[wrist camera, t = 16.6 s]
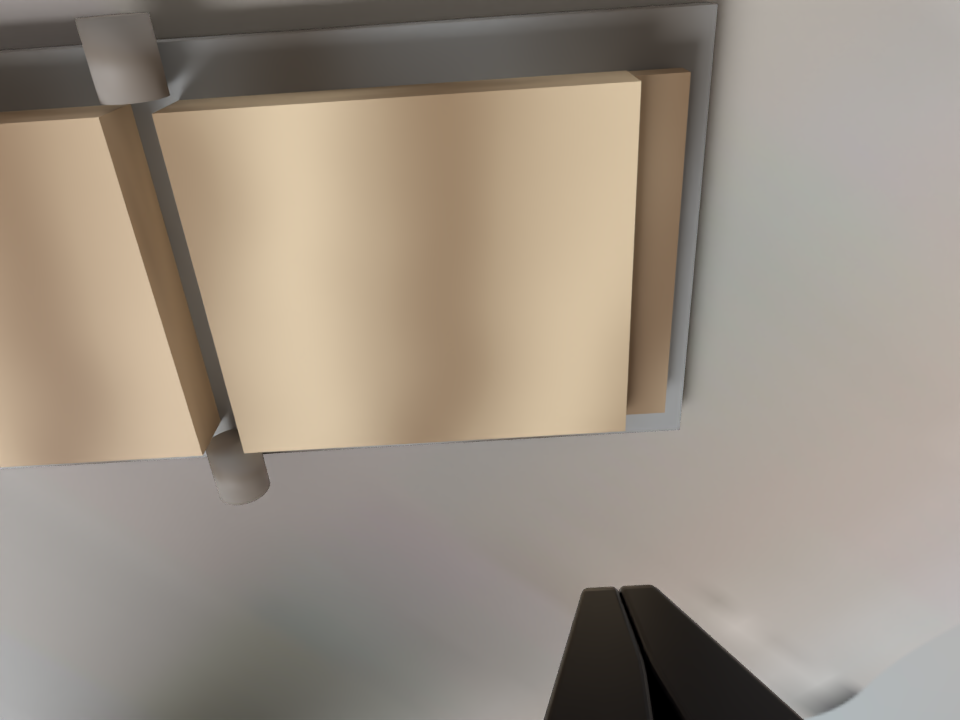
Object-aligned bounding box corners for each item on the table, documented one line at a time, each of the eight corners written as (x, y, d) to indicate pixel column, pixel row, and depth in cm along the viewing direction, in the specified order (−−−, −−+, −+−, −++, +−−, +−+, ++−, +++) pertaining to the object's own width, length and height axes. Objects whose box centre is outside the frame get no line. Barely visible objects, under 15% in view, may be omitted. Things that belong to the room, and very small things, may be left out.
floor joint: (15, 468, 22) (-32, 522, 20) (-189, 33, 16) (-288, 45, 14) (671, 431, 22) (692, 481, 20) (709, -29, 16) (746, -27, 14)
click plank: (259, 419, 20) (244, 453, 19) (179, 100, 16) (151, 113, 15) (657, 395, 20) (671, 428, 19) (680, 66, 16) (700, 77, 15)
